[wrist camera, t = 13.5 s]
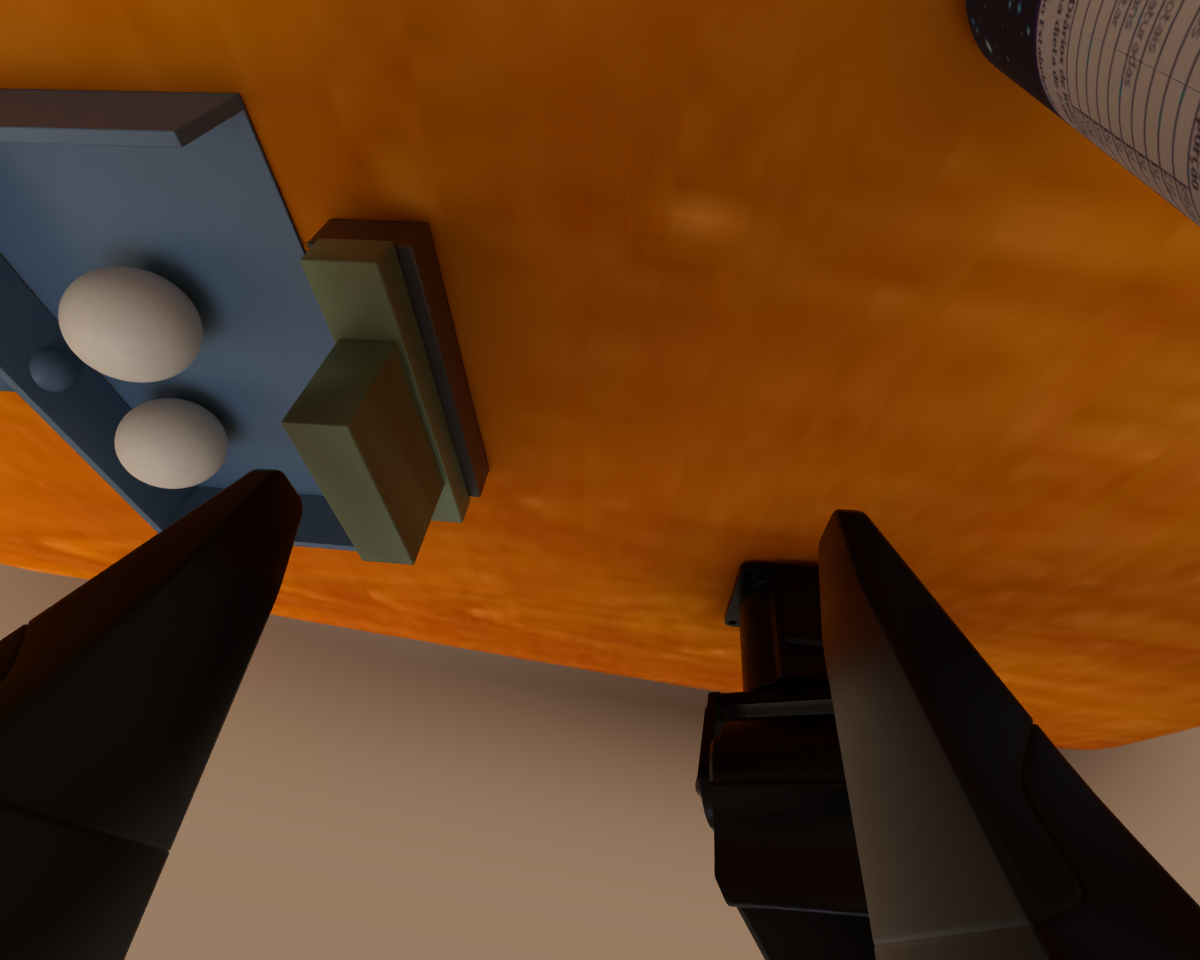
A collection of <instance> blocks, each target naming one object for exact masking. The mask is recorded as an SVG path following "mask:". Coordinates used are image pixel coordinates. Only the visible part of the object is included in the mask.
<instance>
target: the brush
mask: <svg viewBox="0 0 1200 960" xmlns="http://www.w3.org/2000/svg"><path fill="white" fill-rule="evenodd" d="M307 244H308V247H309V250H308V251H307V252H306V253H305V254H304V256H303V257H302V258H301V259H300V263H301V265H302V268H303V270H304V272H305V275H306V277H307V279H308V282H309V284H310V286H311V288H312V291H313V293H314V295H315V298H316V300H317V302H318V304H319V307H320V309H321V311H322V314H323V316H324V318H325V320H326V323H327V325H328V327H329V330H330V332H331V334H332V337H333V339H334V341H335V343H336V344H335V345H334V347H333V348H332V350H331V351H330V352H329V354H328V355H327V357H326V358H325V360H324V361H323V362H322V364H321V365H320V367H319V368H318V370H317V371H316V372H315V374H314V375H313V377H312V378H311V380H310V381H309V382H308V384H307V385H306V387H305V388H304V390H303V391H302V392H301V394H300V395H299V397H298V398H297V400H296V401H295V402H294V404H293V405H292V407H291V408H290V410H289V411H288V412H287V414H286V415H285V417H284V418H283V420H282V421H281V425H282V426H283V428H284V430H285V431H286V433H287V435H288V436H289V438H290V440H291V441H292V443H293V445H294V446H295V448H296V450H297V451H298V453H299V455H300V456H301V458H302V460H303V461H304V463H305V465H306V466H307V468H308V470H309V471H310V473H311V475H312V476H313V478H314V480H315V481H316V483H317V485H318V487H319V488H320V490H321V492H322V493H323V495H324V497H325V498H326V500H327V502H328V503H329V505H330V507H331V508H332V510H333V512H334V513H335V515H336V517H337V518H338V520H339V522H340V523H341V525H342V527H343V528H344V530H345V532H346V533H347V535H348V537H349V538H350V540H351V542H352V543H353V545H354V547H355V549H356V550H357V552H358V554H359V555H360V557H361V559H362V560H364V561H374V562H386V563H397V564H409V565H414V563H415V560H416V558H417V555H418V552H419V550H420V547H421V545H422V542H423V539H424V537H425V534H426V531H427V529H428V526H429V524H430V521H431V520H433V521H445V522H458V523H462V522H463V520H464V517H465V514H466V511H467V508H468V505H469V502H470V497H469V496H472V497H480V496H481V493H482V490H483V487H484V484H485V481H486V478H487V475H488V472H489V470H488V466H487V461H486V457H485V453H484V449H483V445H482V441H481V437H480V433H479V429H478V425H477V421H476V417H475V412H474V408H473V404H472V400H471V396H470V392H469V388H468V384H467V380H466V376H465V372H464V367H463V363H462V359H461V355H460V351H459V347H458V343H457V339H456V335H455V331H454V327H453V323H452V318H451V314H450V310H449V306H448V302H447V298H446V294H445V290H444V286H443V282H442V278H441V273H440V269H439V265H438V261H437V257H436V253H435V249H434V245H433V241H432V237H431V233H430V229H429V224H428V223H423V222H392V221H362V220H328V221H327V223H326V224H325V225H324V226H323V227H322V228H321V229H320V230H319V231H318V232H317V233H316V234H315V235H314V236H313V237H312V238H311V240H310V241H309V242H308V243H307Z"/></svg>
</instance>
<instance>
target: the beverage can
mask: <svg viewBox="0 0 1200 960" xmlns="http://www.w3.org/2000/svg"><path fill="white" fill-rule="evenodd" d="M965 2H966V11H967V17H968V21H969V25H970V29H971V32H972V34H973V37H974V39H975V41H976V43H977V45H978V47H979V48H980V50H981V52H982V53H983V54H984V56H985V57H986V58H987V59H988V60H989V61H990V62H991V63H992V64H993V65H994V66H995V67H996V68H998V69H999V70H1000V71H1001V72H1003V73H1004V74H1005V75H1006V76H1008V77H1009V78H1010V79H1012V80H1013V81H1014V82H1015V83H1017V84H1018V85H1019V86H1021V87H1022V88H1023V89H1024V90H1026V91H1027V92H1028V93H1030V94H1031V95H1032V96H1033V97H1035V98H1036V99H1037V100H1038V101H1040V102H1041V103H1042V104H1044V105H1045V106H1046V107H1047V108H1049V109H1050V110H1051V111H1053V112H1054V113H1055V114H1056V115H1058V116H1059V117H1060V118H1062V119H1063V120H1064V121H1065V122H1067V123H1068V124H1069V125H1070V126H1072V127H1073V128H1074V129H1076V130H1077V131H1078V132H1079V133H1081V134H1082V135H1083V136H1085V137H1086V138H1087V139H1088V140H1090V141H1091V142H1092V143H1094V144H1095V145H1096V146H1097V147H1099V148H1100V149H1101V150H1102V151H1104V152H1105V153H1106V154H1108V155H1109V156H1110V157H1111V158H1113V159H1114V160H1115V161H1117V162H1118V163H1119V164H1120V165H1122V166H1123V167H1124V168H1125V169H1127V170H1128V171H1129V172H1131V173H1132V174H1133V175H1134V176H1136V177H1137V178H1138V179H1140V180H1141V181H1142V182H1143V183H1145V184H1146V185H1147V186H1149V187H1150V188H1151V189H1152V190H1154V191H1155V192H1156V193H1157V194H1159V195H1160V196H1161V197H1163V198H1164V199H1165V200H1166V201H1168V202H1169V203H1170V204H1172V205H1173V206H1174V207H1175V208H1177V209H1178V210H1179V211H1181V212H1182V213H1183V214H1184V215H1186V216H1187V217H1188V218H1189V219H1191V220H1192V221H1193V222H1195V223H1196V224H1197V225H1198V226H1200V0H965Z"/></svg>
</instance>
